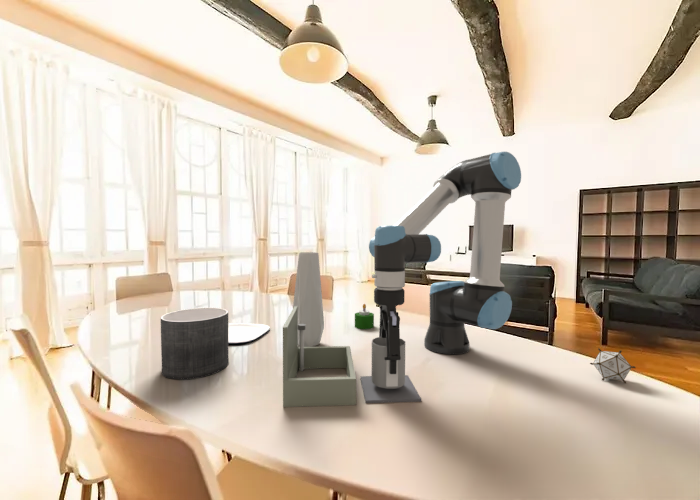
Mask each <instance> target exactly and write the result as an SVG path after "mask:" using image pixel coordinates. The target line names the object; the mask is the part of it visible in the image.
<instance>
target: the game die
mask: <svg viewBox="0 0 700 500" xmlns="http://www.w3.org/2000/svg"><path fill="white" fill-rule="evenodd" d="M597 350H598V351H599V352H598V354H597V356H596V357H595V360H594V361H593V362H590V363H589V364H590V365H593V366H594V367H595V368H596V370H597V372H599V374H600V375H601V377H602V378H601V381H602V380H603V381H605V379H608V380H616V381H622V382H623V383H624V384H627V381H626V380H625V379H626V378H627V376H628V374H629V373H630V371H631V370H632V369H636V366H634V365H631V364H630V363H629V361H628V360H627V359H626V358H625V357H624V356H623V355H622V352H623V350H622V349H620V350H619V351H605V350H602V349H601V348H599V347H598V348H597Z"/></svg>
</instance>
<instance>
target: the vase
mask: <svg viewBox="0 0 700 500" xmlns="http://www.w3.org/2000/svg"><path fill="white" fill-rule="evenodd" d="M319 256H320V255H319V252H312V251H310V252H304V251H303V252H302V251H301V252H299V254H298V260H297V269H296V278H295V287H294V292H293V293H294V295H293V301H292V302H293V303H292V309H293V308H294V306H298V324H306V328H305V330H304V347H317V346H318V345H320V344H321V340H322V337H323V333H324V329H325V319H324V318H325V317H324V307H323V306H324V305H323V295H322V294H323V293H322V280H321V269H320V268H321V267H320V257H319ZM298 347H300V330H298Z"/></svg>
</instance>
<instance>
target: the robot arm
mask: <svg viewBox="0 0 700 500" xmlns="http://www.w3.org/2000/svg"><path fill="white" fill-rule="evenodd" d="M521 181H522V171H521V166H520V164H519V162H518V160H517V158H516V157H515V155H514V154H512V153H511V152H508V151H498V152H492V153H489V154H486V155H483V156H482V155H481V156H479V157H474V158H470V159H465V160H462V161H460V162H459V163H456V164H455V165H453V166H452V167H451V168H449V169H448V170H447V171H445V172H444V173H443V174H442V175H441V176H440V177H439V178H438V179H436V181H434V183H433V185H432V187H433V188H431V189H430V190H429V191H428V192H427V193H426V194H425V195H424V196H423V197H422V198H420V200H419V201H418V202H417V203H416V204H414V206H412V207H411V208H410V209H409V210H408V211H407V212H406V213H405V214H404V215H403V216H402V217H400V218H399V220H397V222H395V223H394V224H392V225H378V226H377V227H376V228H375V231H374V236H373V237H372V238H371V239H370V240H369V243H368V250H369V254H370V255H371V256H372V257H373V258H374V273H375V274H372V275H371V277H372V279H374V286H375V288H374V290H373V293H374V294H373V301H374V304H377V305H379V329H378V330H379V333H378V336H379V337H382V338H386V343H387V357H385V358H384V360H386V387H394V386H398V360H400V358H401V356H400V339H401V337H400V336H401V334H400V323H401V318H400V315H399V312H398V311H397V306H402V305H403V304H405V294H406V293H405V290H404V288H405V285H406V269H405V268H406V264H416V263H417V264H418V263H423V264H427V263H433V262H435V261H436V260H438V259H439V258H440V255H441V254H442V244H441V241H440V239H439V238H438V237H437V236H436V235H433V234H427V233H425V234H424V233H422V231H423V230H425V228H427V227H428V226H429V224H430V223H431V222H432V221H434V220H435V219H436V218H437V217H438V215H440V214H441V213H442V211H444V209H446V207H448V206H449V205H450V204H454V203H456V202H457V201H458V200H459V199H460V198H463V197H465V196H469V195H470V198H471V200H473V201H474V203H475V205H474V206H475V207H474V219H473V220H474V221H473V233H472V244H471V245H472V246H471V257H470V258H471V259H470V271H469V272H470V273H469V277H468V278H467V279H465V280H464V281H462V280H453V281H438V282H434V283H432V284H431V285H430V288H429V289H430V290H429V326H428V328H427V331H426V333H425V336H424V339H423V341H424V347H425V348H426V349H427V350H429V351H432V352H434V353H438V354H444V355H462V354H466V353H468V352H469V351H470V347H471V346H470V344H471V343H470V341H469V337H468V334H467V331H466V327H465V324H469V325H474V326H477V327H480V328H482V329H488V330H497V329H499V328H502V327H503V326H504V325H505V324H506V322H507V321H508V319H509V318H510V315H511V313H512V306H513V301H512V298H511V295H510V294H509V293H507V292H506V291H505V284H504V283H503V282H502V281H501V279H500V277H501V265H502V251H503V250H502V249H503V239H504V238H503V237H504V236H503V235H504V224H505V222H504V221H505V210H506V203H507V201H509V199H510V200H511V198H512V190H515V189H517V188H518V187H519V186H520V183H521ZM421 233H422V234H421ZM393 354H395V355H393Z"/></svg>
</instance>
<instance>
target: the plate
mask: <svg viewBox="0 0 700 500" xmlns="http://www.w3.org/2000/svg"><path fill="white" fill-rule="evenodd" d="M270 329H271V328H270V325H267V324H263V323H245V322H244V323H243V322H241V323H240V322H239V323H238V322H236V323H235V322H234V323H233V322H228V345H229V344H245V343H249V342H252V341H254V340H257V339H258V338H260V337H261V336H264V334H266V333H268V332H269V330H270Z"/></svg>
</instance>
